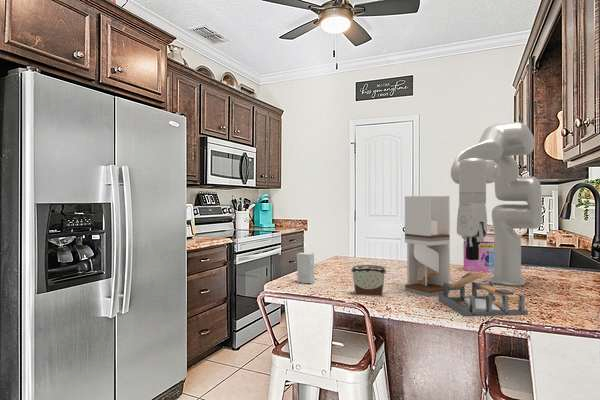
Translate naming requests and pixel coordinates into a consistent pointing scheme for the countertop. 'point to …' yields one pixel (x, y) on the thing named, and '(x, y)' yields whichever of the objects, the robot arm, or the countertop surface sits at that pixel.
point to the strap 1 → (465, 281)
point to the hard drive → (480, 304)
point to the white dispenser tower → (427, 244)
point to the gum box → (481, 258)
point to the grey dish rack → (465, 310)
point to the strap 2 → (497, 291)
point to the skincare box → (305, 267)
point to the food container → (368, 279)
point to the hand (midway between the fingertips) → (472, 259)
